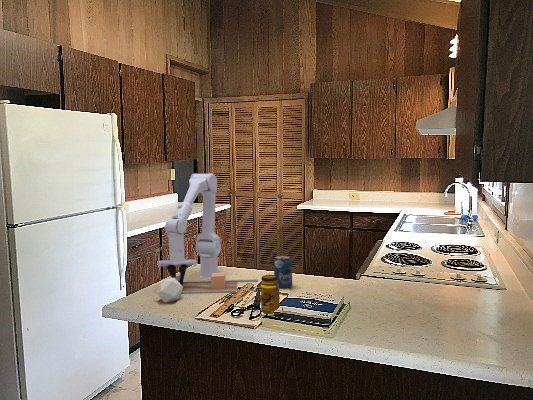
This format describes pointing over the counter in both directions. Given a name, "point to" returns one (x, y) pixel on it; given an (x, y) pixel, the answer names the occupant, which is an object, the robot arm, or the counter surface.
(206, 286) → the large flat tan board
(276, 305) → the condiment
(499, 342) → the counter surface
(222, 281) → the cube
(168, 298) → the die
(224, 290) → the lane rails
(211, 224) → the robot arm
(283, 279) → the soda can
